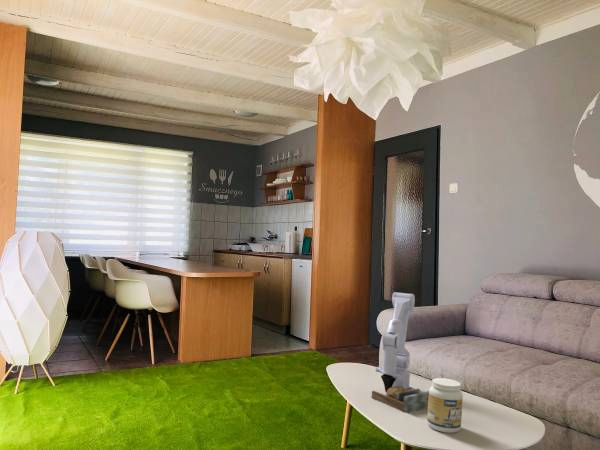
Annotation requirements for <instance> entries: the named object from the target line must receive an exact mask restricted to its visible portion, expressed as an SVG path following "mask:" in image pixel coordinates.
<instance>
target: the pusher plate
mask: <svg viewBox="0 0 600 450" xmlns="http://www.w3.org/2000/svg"><path fill="white" fill-rule="evenodd" d="M408 390H409V389H408ZM417 393H420V388H415V389H410V390H409V391H404V392H399V393H397V400H398V401H401V402H403V403H404V396H408V395H413V394H417Z"/></svg>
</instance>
